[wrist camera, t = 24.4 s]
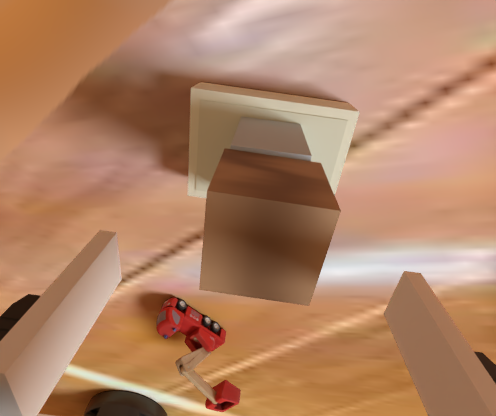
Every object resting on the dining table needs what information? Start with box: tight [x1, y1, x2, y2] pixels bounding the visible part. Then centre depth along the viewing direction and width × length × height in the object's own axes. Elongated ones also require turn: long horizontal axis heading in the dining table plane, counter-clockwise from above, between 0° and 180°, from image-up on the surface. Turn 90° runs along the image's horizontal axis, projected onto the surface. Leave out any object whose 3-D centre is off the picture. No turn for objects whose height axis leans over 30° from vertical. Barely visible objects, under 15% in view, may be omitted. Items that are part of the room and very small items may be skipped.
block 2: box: [199, 148, 341, 306], centre depth 17 cm, size 6×6×6 cm
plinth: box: [188, 82, 360, 198], centre depth 29 cm, size 14×10×4 cm
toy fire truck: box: [157, 298, 241, 412], centre depth 40 cm, size 3×14×10 cm, turn 47°
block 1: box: [230, 116, 312, 161], centre depth 24 cm, size 5×7×8 cm
